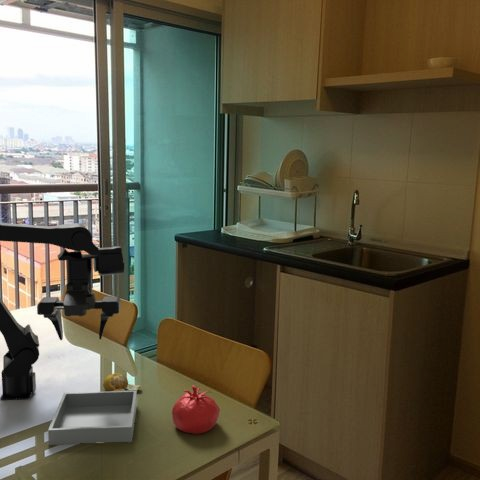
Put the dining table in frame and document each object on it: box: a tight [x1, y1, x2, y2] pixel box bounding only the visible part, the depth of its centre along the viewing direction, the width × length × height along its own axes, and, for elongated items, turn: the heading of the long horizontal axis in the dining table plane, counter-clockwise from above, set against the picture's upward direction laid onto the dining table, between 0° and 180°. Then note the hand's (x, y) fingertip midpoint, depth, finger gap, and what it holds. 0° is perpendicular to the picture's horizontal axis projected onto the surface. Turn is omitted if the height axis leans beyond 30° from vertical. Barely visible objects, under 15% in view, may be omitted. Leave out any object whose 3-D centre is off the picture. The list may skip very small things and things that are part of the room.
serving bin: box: [47, 390, 138, 446], centre depth 114 cm, size 16×16×4 cm
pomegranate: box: [171, 384, 221, 435], centre depth 114 cm, size 10×10×9 cm
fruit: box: [102, 372, 142, 391], centre depth 130 cm, size 8×8×4 cm
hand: (81, 339), depth 131 cm, fingers open, 9 cm apart
